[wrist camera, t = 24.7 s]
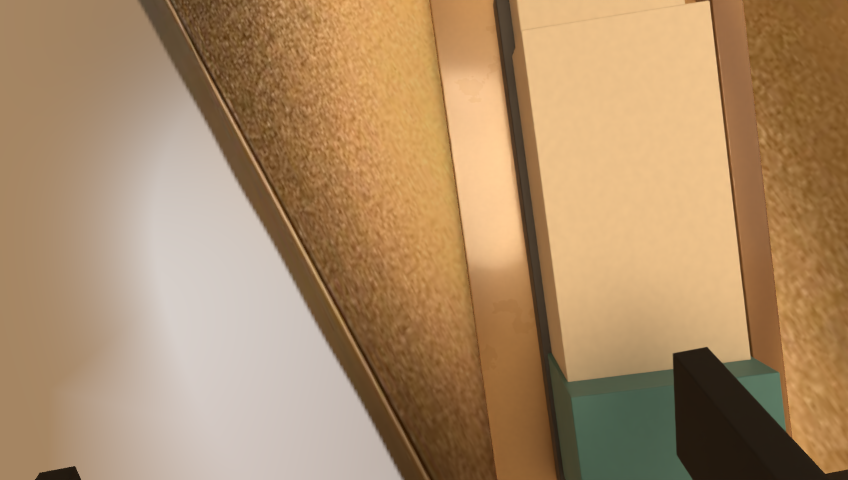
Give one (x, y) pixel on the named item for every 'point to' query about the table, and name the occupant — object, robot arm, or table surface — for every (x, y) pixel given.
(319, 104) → the table surface
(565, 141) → the stepped block stack
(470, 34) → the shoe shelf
